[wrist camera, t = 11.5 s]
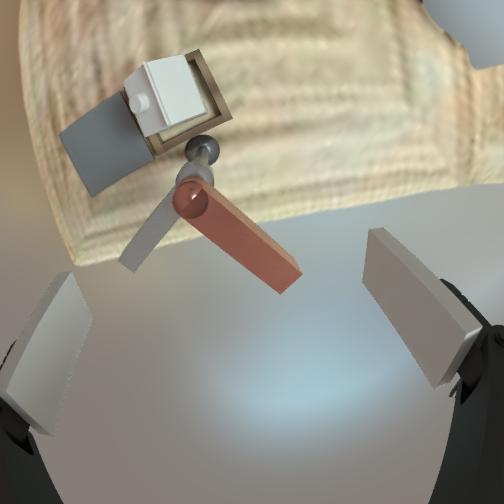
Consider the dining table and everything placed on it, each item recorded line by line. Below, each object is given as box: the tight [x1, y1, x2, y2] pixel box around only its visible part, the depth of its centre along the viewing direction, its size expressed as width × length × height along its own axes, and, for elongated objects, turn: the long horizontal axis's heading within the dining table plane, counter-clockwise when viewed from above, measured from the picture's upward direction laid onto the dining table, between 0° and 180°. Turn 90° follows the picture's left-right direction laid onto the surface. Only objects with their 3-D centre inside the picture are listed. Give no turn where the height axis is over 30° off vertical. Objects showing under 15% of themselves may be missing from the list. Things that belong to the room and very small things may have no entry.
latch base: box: [186, 135, 220, 166], centre depth 42 cm, size 5×5×1 cm
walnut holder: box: [124, 49, 233, 155], centre depth 37 cm, size 12×12×2 cm
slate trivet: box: [59, 92, 155, 197], centre depth 39 cm, size 13×13×1 cm
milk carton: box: [123, 54, 208, 137], centre depth 30 cm, size 7×7×19 cm
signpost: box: [118, 146, 302, 294], centre depth 33 cm, size 12×12×27 cm
